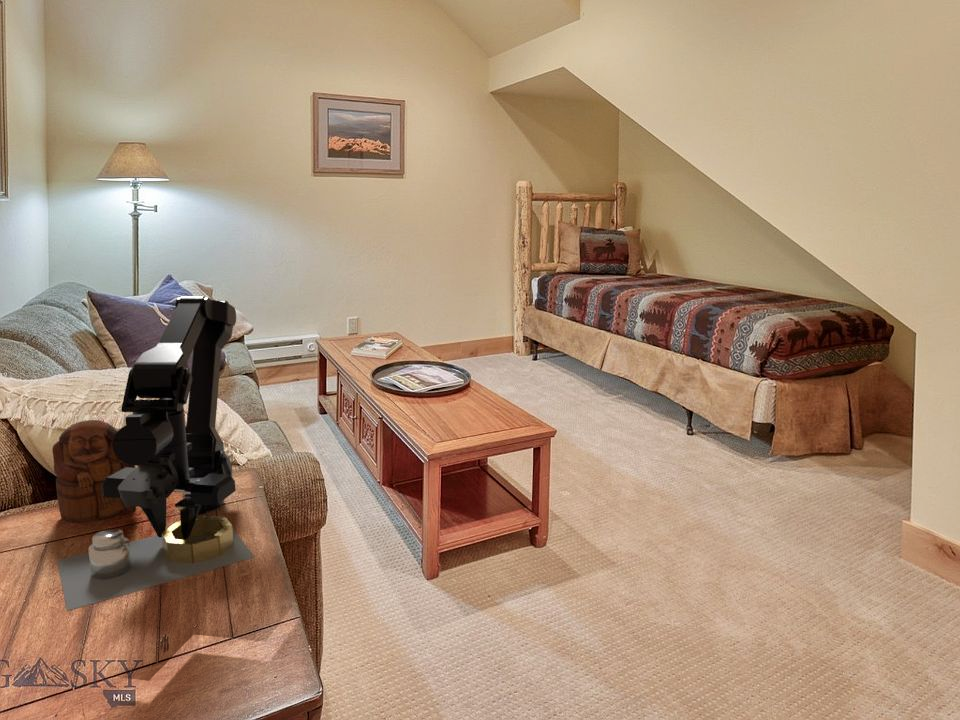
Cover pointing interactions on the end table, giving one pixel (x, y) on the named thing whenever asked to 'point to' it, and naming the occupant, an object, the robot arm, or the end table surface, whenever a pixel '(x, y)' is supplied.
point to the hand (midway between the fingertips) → (173, 537)
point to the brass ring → (200, 549)
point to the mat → (137, 571)
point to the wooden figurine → (87, 472)
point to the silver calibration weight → (109, 554)
